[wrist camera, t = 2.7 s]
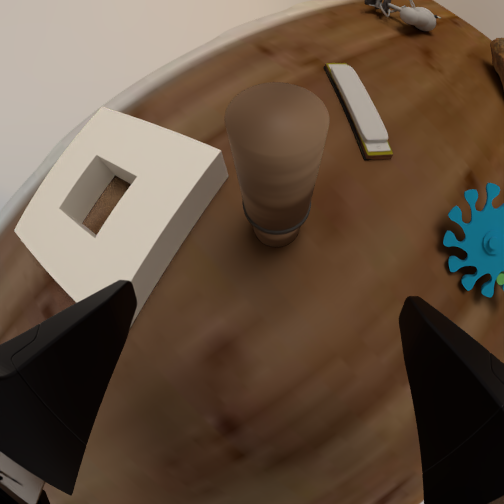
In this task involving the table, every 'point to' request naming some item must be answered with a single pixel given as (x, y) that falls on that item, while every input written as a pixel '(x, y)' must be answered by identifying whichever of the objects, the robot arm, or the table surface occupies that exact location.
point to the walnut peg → (276, 155)
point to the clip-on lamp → (408, 14)
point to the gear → (480, 241)
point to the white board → (120, 204)
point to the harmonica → (359, 112)
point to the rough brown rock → (498, 57)
